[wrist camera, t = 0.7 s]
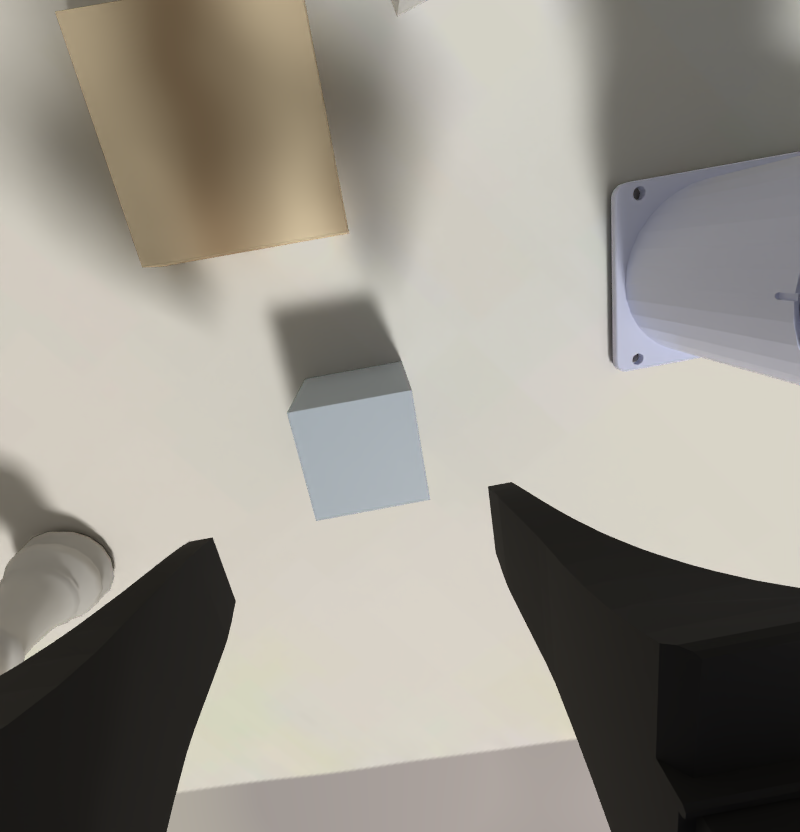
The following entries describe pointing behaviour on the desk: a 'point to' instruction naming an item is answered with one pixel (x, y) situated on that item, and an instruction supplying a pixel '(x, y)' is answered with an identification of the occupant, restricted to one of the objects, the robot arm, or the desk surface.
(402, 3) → the grey cube
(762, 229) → the robot arm
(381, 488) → the slate block
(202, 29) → the maple block
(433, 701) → the desk surface
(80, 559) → the rook chess piece
